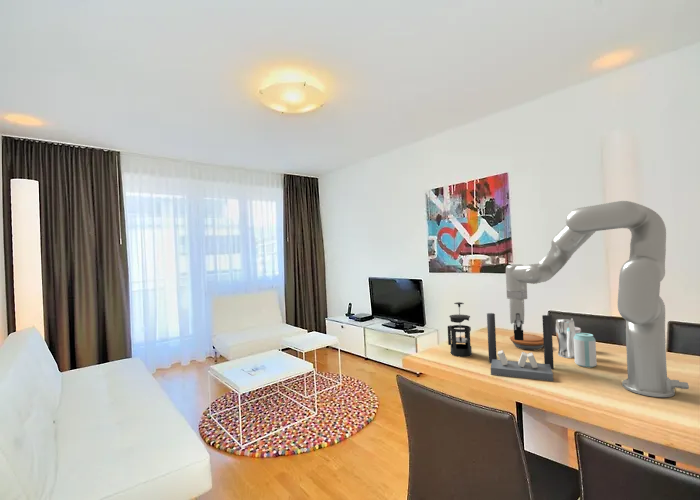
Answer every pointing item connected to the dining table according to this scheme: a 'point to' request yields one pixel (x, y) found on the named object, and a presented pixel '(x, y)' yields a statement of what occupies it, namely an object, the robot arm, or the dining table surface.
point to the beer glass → (565, 337)
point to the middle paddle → (522, 359)
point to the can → (585, 350)
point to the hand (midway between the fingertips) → (518, 337)
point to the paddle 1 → (502, 357)
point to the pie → (529, 342)
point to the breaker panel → (522, 370)
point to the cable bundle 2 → (548, 340)
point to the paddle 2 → (532, 360)
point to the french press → (460, 349)
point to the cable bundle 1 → (491, 336)
